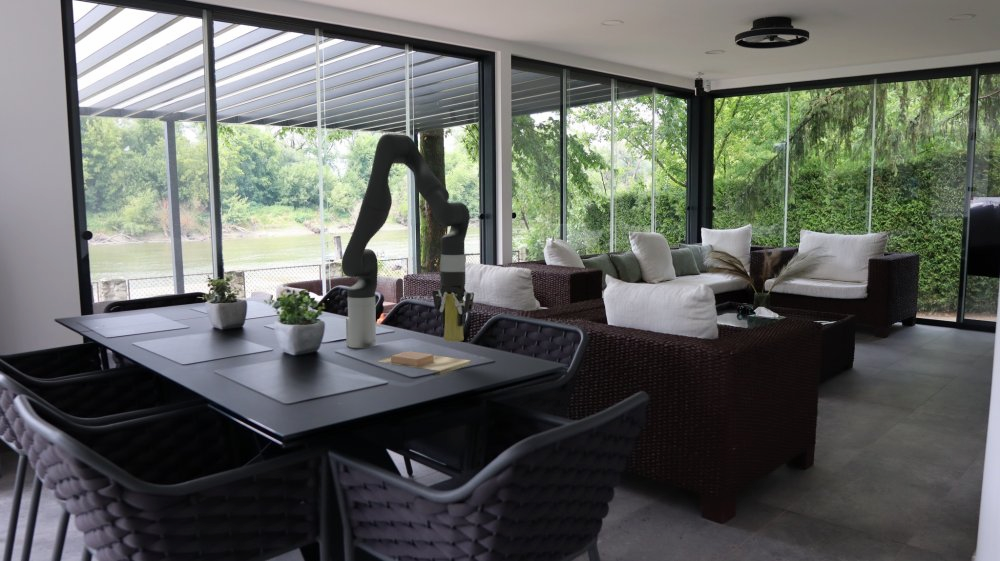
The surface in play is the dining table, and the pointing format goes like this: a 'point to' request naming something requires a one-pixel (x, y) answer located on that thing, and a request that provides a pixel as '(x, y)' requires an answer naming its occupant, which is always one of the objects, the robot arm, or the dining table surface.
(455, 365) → the board
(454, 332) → the vase
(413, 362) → the tile
